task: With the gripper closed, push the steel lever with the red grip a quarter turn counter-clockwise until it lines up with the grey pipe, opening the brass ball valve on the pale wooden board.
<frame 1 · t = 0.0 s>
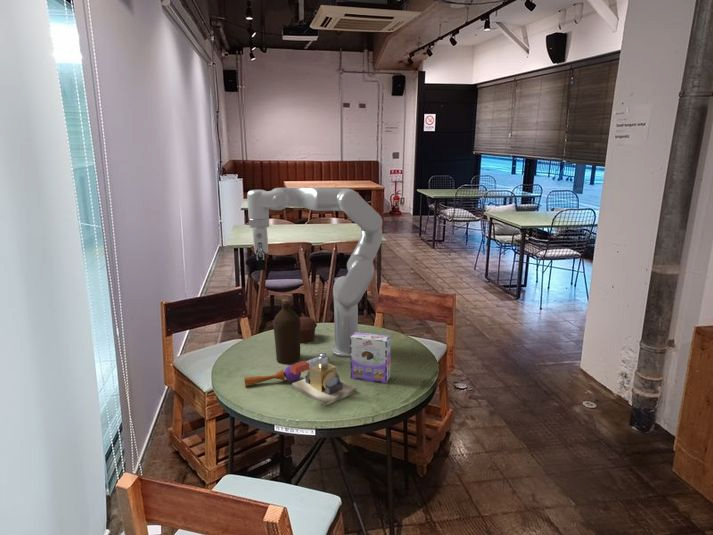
hand: (261, 267, 189), 37 cm above the table, tool pointing down, fingers open, 9 cm apart
pipe and valve body: (323, 376, 170), on the mounting board, point 5 cm above the table
mounting board: (323, 389, 171), on the table
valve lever: (310, 365, 165), point 11 cm above the table, hinge at 0.0°
muffin: (304, 340, 215), on the table
kendama: (273, 383, 177), on the table
olive oil: (288, 359, 196), on the table
candy box: (370, 378, 180), on the table
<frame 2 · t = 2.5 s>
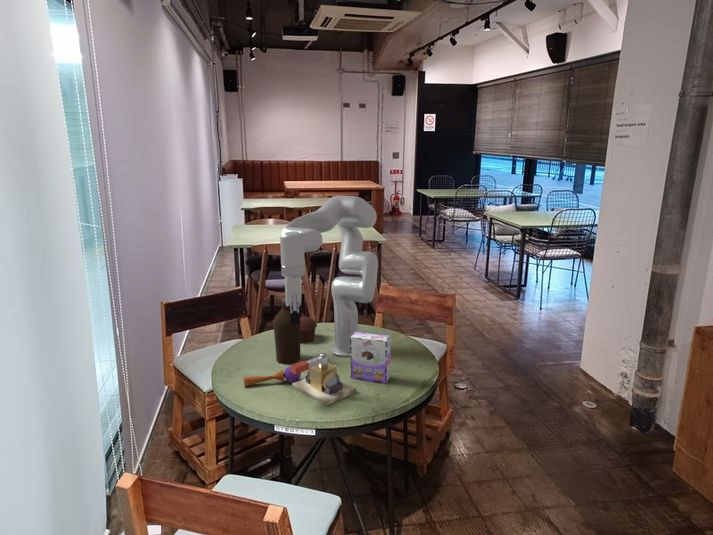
hand: (295, 323, 164), 25 cm above the table, tool pointing down, fingers closed
nothing on the table moved.
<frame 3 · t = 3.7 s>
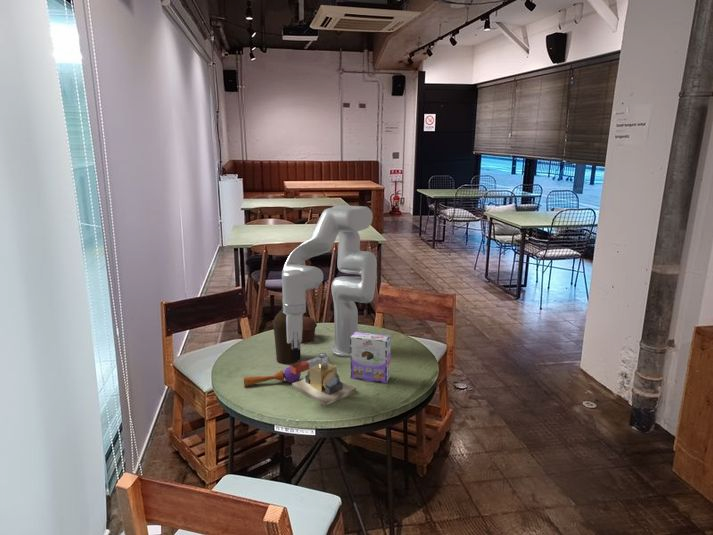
hand: (295, 359, 166), 12 cm above the table, tool pointing down, fingers closed
nothing on the table moved.
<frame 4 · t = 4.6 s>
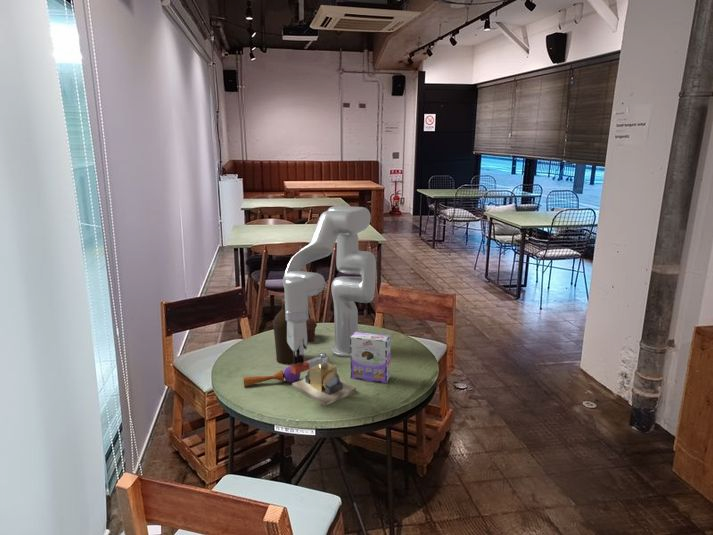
hand: (298, 365, 166), 10 cm above the table, tool pointing down, fingers closed
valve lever: (310, 365, 165), point 11 cm above the table, hinge at 0.0°, touching gripper
everything else where it was.
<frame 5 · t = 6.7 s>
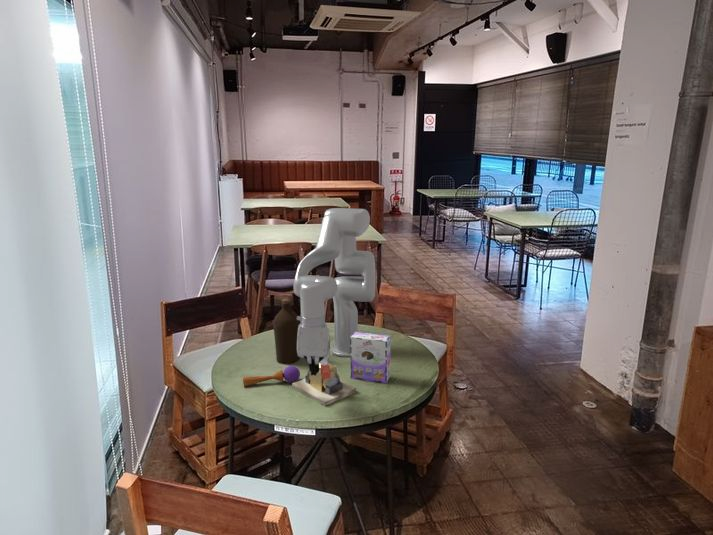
hand: (314, 373, 160), 10 cm above the table, tool pointing down, fingers closed
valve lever: (324, 367, 163), point 11 cm above the table, hinge at 54.5°, touching gripper
everything else where it was.
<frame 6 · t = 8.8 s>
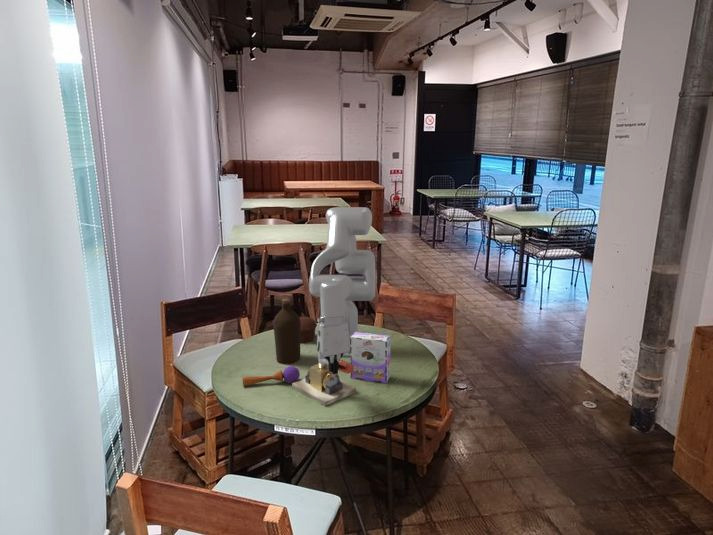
hand: (333, 372, 161), 11 cm above the table, tool pointing down, fingers closed
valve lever: (334, 364, 165), point 11 cm above the table, hinge at 94.8°, touching gripper
everything else where it was.
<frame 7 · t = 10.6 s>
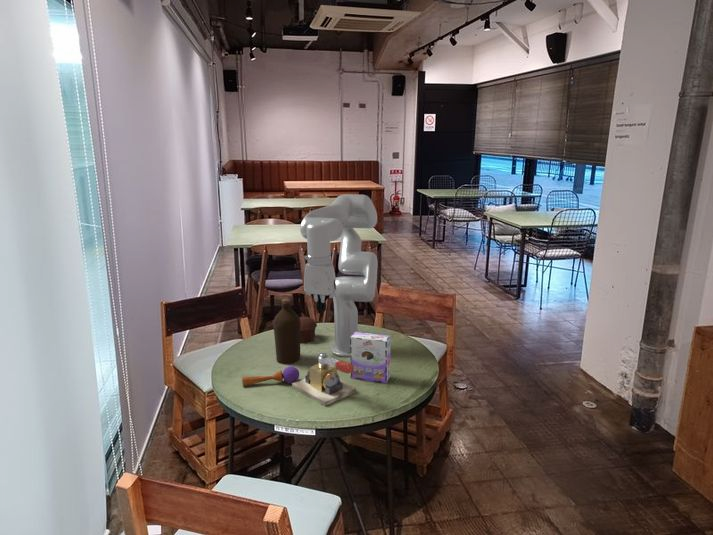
hand: (321, 312, 166), 28 cm above the table, tool pointing down, fingers closed
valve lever: (334, 364, 165), point 11 cm above the table, hinge at 94.6°
everything else where it was.
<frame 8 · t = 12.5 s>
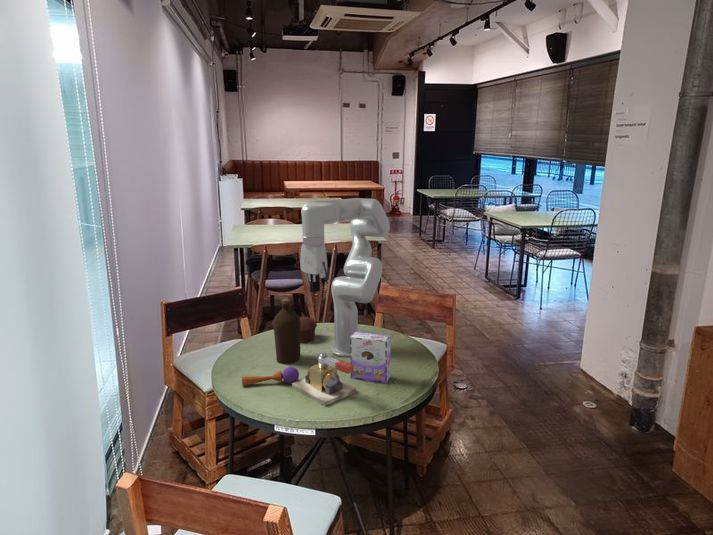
hand: (315, 291, 175), 32 cm above the table, tool pointing down, fingers closed
nothing on the table moved.
at the end: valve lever at +95° (first picture: +0°); candy box moved 0.3 cm from its start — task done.
